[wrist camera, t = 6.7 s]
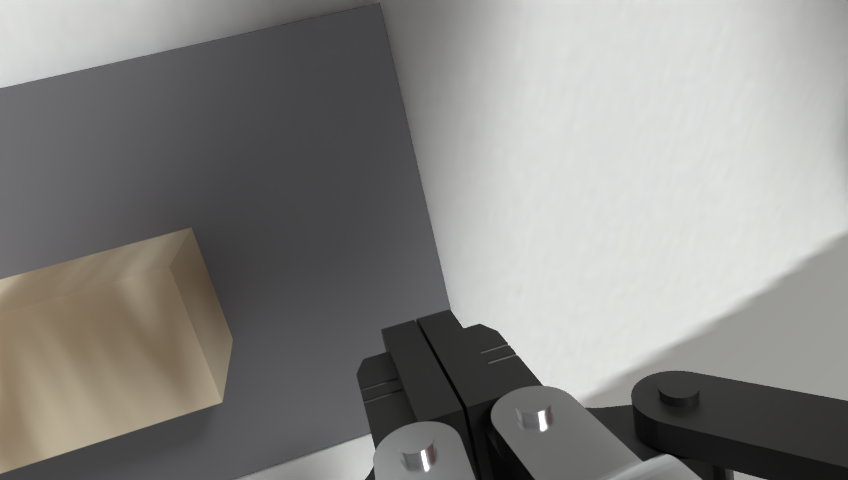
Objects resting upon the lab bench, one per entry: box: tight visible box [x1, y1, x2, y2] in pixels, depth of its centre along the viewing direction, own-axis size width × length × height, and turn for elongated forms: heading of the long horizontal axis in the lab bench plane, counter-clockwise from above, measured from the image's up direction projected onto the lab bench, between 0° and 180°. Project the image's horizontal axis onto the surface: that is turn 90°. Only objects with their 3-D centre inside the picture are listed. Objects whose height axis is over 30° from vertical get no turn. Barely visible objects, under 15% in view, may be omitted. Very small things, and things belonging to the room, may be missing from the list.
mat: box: [0, 3, 451, 480], centre depth 21 cm, size 16×28×1 cm, turn 103°
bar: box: [0, 227, 233, 474], centre depth 18 cm, size 4×4×12 cm
